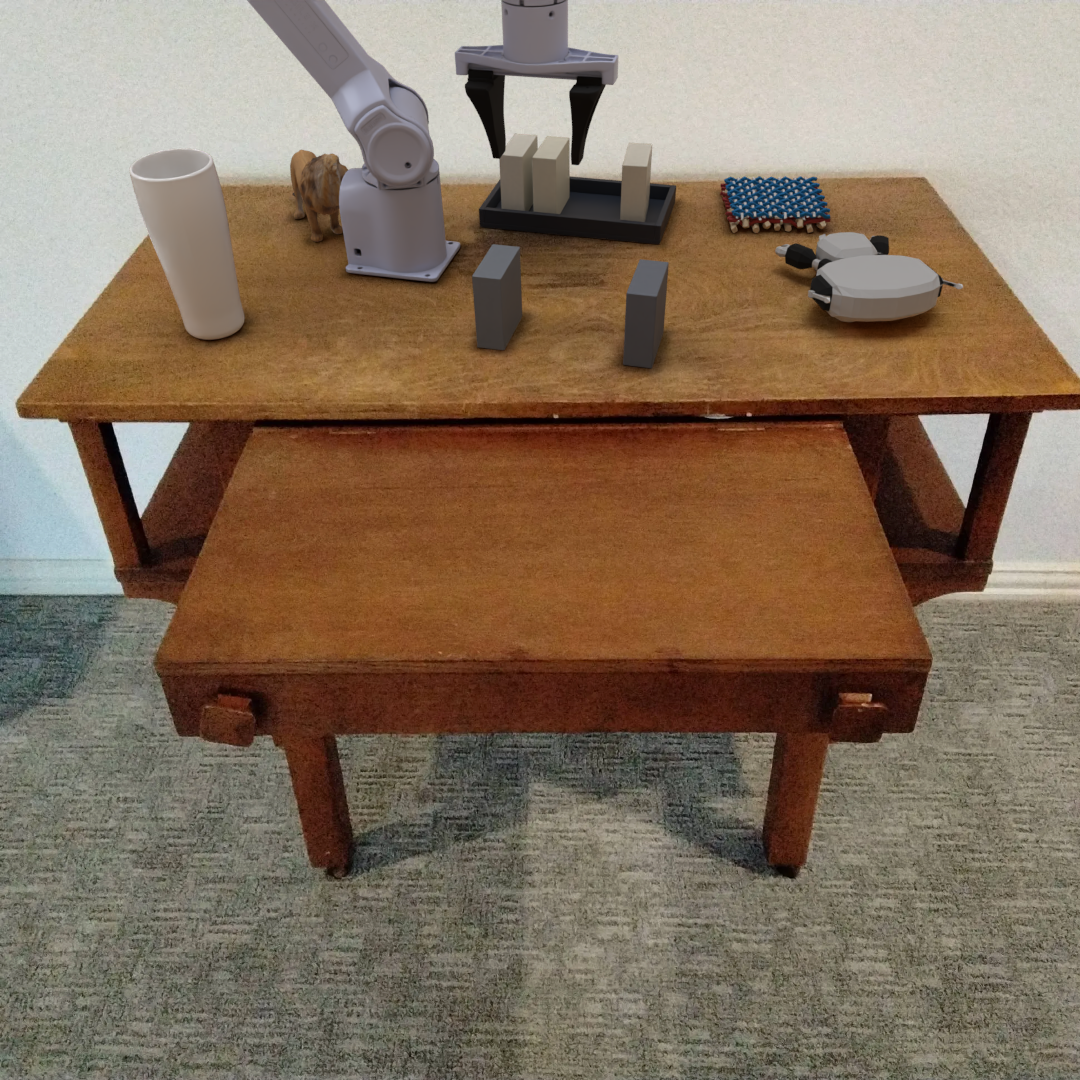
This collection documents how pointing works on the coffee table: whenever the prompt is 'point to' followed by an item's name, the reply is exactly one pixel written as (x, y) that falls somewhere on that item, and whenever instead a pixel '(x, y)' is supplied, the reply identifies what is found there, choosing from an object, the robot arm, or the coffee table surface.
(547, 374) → the coffee table surface
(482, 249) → the coffee table surface
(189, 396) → the coffee table surface
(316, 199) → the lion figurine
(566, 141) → the cream books on tray
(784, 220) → the woven mat
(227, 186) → the coffee table surface
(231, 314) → the drinking glass
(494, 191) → the tray
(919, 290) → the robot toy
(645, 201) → the cream rectangular block
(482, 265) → the grey books
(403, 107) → the robot arm
